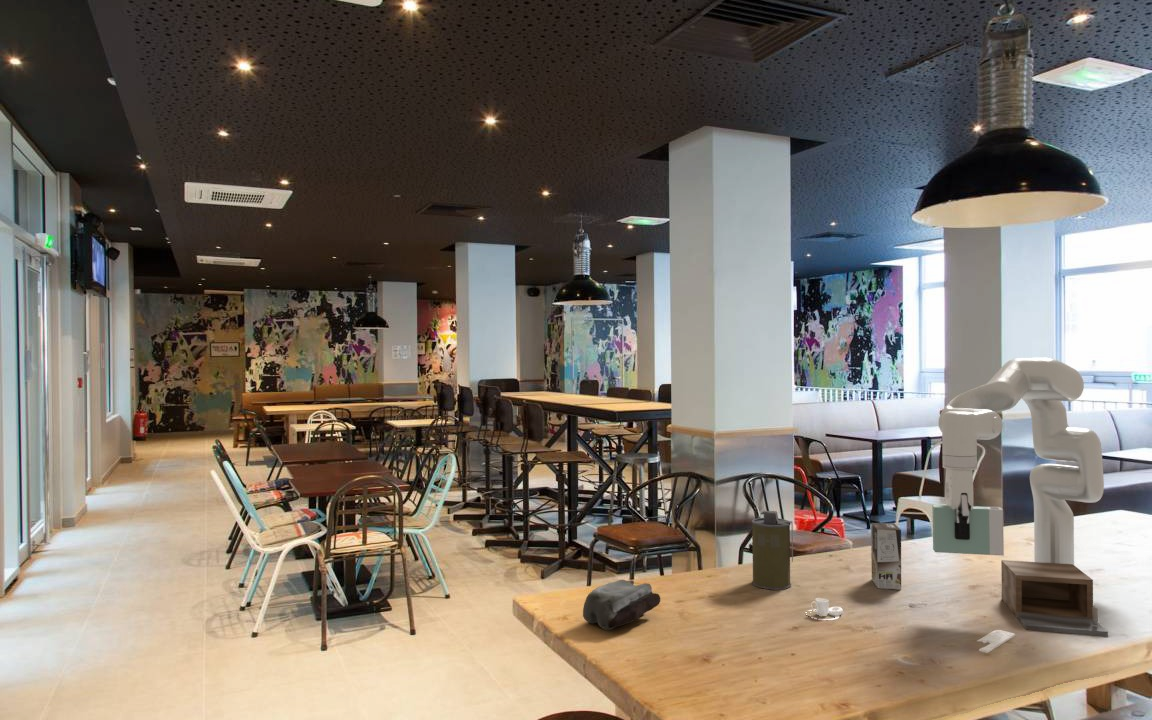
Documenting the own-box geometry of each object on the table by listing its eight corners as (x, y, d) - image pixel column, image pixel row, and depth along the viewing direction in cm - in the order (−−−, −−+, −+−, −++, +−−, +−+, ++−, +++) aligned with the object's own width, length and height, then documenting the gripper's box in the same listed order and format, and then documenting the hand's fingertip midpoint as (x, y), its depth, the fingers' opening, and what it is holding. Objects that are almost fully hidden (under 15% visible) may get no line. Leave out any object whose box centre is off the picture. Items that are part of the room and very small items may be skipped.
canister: (749, 587, 208) (748, 514, 208) (755, 577, 217) (754, 507, 217) (790, 592, 204) (789, 517, 204) (794, 581, 213) (794, 509, 213)
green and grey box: (933, 549, 189) (932, 504, 189) (1000, 552, 185) (1000, 507, 185) (935, 552, 187) (934, 507, 186) (1003, 555, 182) (1003, 509, 182)
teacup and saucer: (843, 613, 188) (842, 596, 188) (843, 624, 180) (843, 606, 180) (805, 610, 190) (805, 593, 190) (804, 620, 183) (804, 603, 183)
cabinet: (1001, 599, 196) (1001, 560, 196) (1073, 604, 191) (1072, 564, 191) (1026, 629, 174) (1026, 585, 174) (1108, 636, 169) (1107, 591, 169)
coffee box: (902, 590, 204) (901, 529, 204) (876, 588, 206) (876, 528, 206) (895, 580, 213) (894, 522, 213) (870, 579, 215) (870, 521, 215)
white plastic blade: (962, 648, 165) (962, 643, 165) (991, 632, 174) (991, 627, 174) (987, 654, 161) (987, 649, 161) (1015, 637, 170) (1015, 632, 170)
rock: (617, 640, 170) (617, 602, 170) (575, 629, 178) (575, 593, 178) (663, 616, 186) (663, 582, 186) (622, 607, 193) (622, 574, 193)
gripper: (937, 457, 195) (938, 529, 195) (948, 466, 179) (950, 544, 179) (969, 457, 193) (970, 530, 193) (984, 467, 177) (985, 546, 177)
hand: (960, 536), depth 186 cm, fingers closed on green and grey box, 3 cm apart
